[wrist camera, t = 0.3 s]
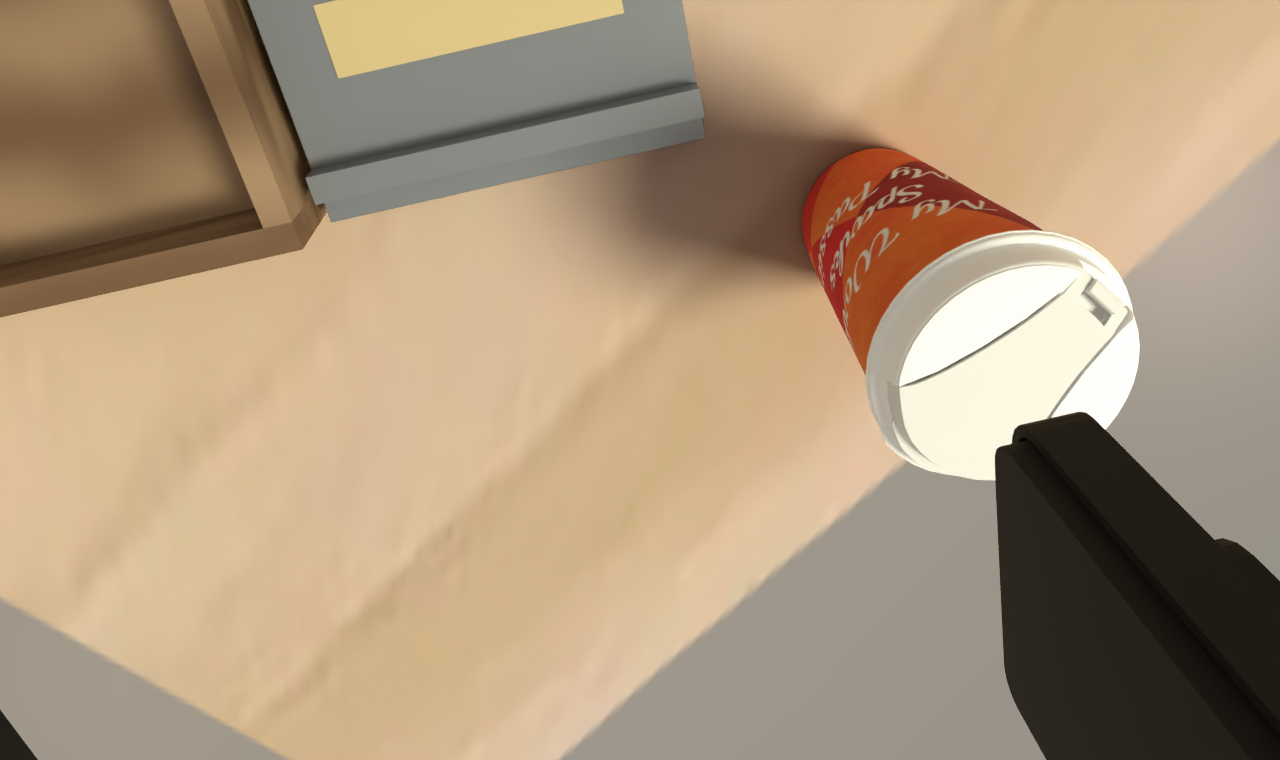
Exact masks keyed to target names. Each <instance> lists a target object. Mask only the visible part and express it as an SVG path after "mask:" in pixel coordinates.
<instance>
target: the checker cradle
mask: <svg viewBox="0 0 1280 760" xmlns="http://www.w3.org/2000/svg"><path fill="white" fill-rule="evenodd" d="M248 2H249V5H250V8H251V10H252V13H253V16H254V18H255V21H256V24H257V26H258V29H259V32H260V34H261V37H262V40H263V42H264V45H265V48H266V50H267V53H268V56H269V58H270V61H271V64H272V66H273V69H274V72H275V74H276V77H277V79H278V82H279V85H280V87H281V90H282V93H283V95H284V98H285V101H286V103H287V106H288V109H289V111H290V114H291V117H292V119H293V122H294V125H295V127H296V130H297V133H298V135H299V138H300V141H301V143H302V146H303V149H304V151H305V154H306V156H307V159H308V162H309V164H310V167H311V171H310V173H309V174H308V175H307V176H306V181H307V184H308V186H309V189H310V192H311V194H312V197H313V199H314V202H315V205H318V204H323V203H324V204H325V207H326V210H327V212H328V215H329V218H330V220H331V222H335V221H340V220H344V219H349V218H353V217H357V216H362V215H366V214H371V213H375V212H380V211H384V210H388V209H393V208H397V207H402V206H406V205H411V204H415V203H419V202H424V201H428V200H433V199H437V198H442V197H446V196H451V195H455V194H459V193H464V192H468V191H473V190H477V189H482V188H486V187H490V186H495V185H499V184H504V183H508V182H513V181H517V180H521V179H526V178H530V177H535V176H539V175H544V174H548V173H552V172H557V171H561V170H566V169H570V168H575V167H579V166H584V165H588V164H592V163H597V162H601V161H606V160H610V159H615V158H619V157H623V156H628V155H632V154H637V153H641V152H646V151H650V150H654V149H659V148H663V147H668V146H672V145H677V144H681V143H685V142H690V141H694V140H699V139H703V138H705V132H704V126H703V120H702V118H703V117H705V116H704V110H703V104H702V98H701V92H700V88H699V86H698V85H697V83H696V80H695V74H694V68H693V62H692V56H691V51H690V45H689V39H688V33H687V27H686V21H685V16H684V10H683V4H682V0H248Z"/></svg>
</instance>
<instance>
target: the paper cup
mask: <svg viewBox="0 0 1280 760" xmlns="http://www.w3.org/2000/svg"><path fill="white" fill-rule="evenodd" d="M802 234H803V239H804V243H805V246H806V249H807V252H808V254H809V257H810V259H811V261H812V264H813V266H814V268H815V271H816V273H817V275H818V277H819V279H820V281H821V284H822V286H823V288H824V290H825V292H826V294H827V296H828V298H829V300H830V303H831V305H832V307H833V309H834V311H835V313H836V315H837V317H838V319H839V321H840V323H841V326H842V328H843V330H844V332H845V334H846V336H847V338H848V340H849V342H850V344H851V346H852V348H853V350H854V352H855V354H856V356H857V358H858V361H859V363H860V365H861V367H862V369H863V371H864V373H865V377H866V390H867V397H868V400H869V404H870V408H871V411H872V413H873V415H874V418H875V420H876V422H877V424H878V426H879V428H880V430H881V433H882V435H883V438H884V440H885V443H886V444H887V445H888V446H889V447H890V448H891V449H892V450H893V451H894V452H895V453H897V454H898V455H899V456H900V457H902V458H904V459H905V460H907V461H909V462H910V463H912V464H913V465H916V466H918V467H921V468H923V469H926V470H929V471H935V472H937V473H942V474H947V475H955V476H960V477H965V478H969V479H974V480H995V453H996V450H997V448H999V447H1000V446H1005V445H1009V444H1012V436H1013V433H1014V429H1015V428H1016V427H1017V426H1019V425H1022V424H1027V423H1031V422H1035V421H1040V420H1044V419H1049V418H1053V417H1057V416H1062V415H1066V414H1071V413H1075V412H1086V413H1087V414H1089V415H1090V416H1091V417H1093V418H1094V419H1095V420H1096V421H1097V422H1098V423H1099V424H1100V425H1101V426H1102V427H1103V428H1104V429H1106V428H1107V427H1108V425H1109V424H1110V423H1111V422H1112V421H1113V419H1114V418H1115V417H1116V416H1117V414H1118V413H1119V411H1120V409H1121V407H1122V406H1123V404H1124V403H1125V401H1126V399H1127V397H1128V395H1129V392H1130V390H1131V388H1132V385H1133V383H1134V380H1135V376H1136V372H1137V367H1138V361H1139V347H1140V346H1139V335H1138V328H1137V325H1136V321H1135V318H1134V315H1133V312H1132V304H1131V301H1130V298H1129V295H1128V292H1127V288H1126V286H1125V285H1124V283H1123V281H1122V279H1121V277H1120V275H1119V274H1118V272H1117V271H1116V270H1115V268H1114V267H1113V266H1112V265H1111V264H1110V263H1109V261H1108V260H1107V259H1106V258H1105V257H1103V256H1102V255H1101V254H1100V253H1098V252H1097V251H1096V250H1094V249H1093V248H1092V247H1090V246H1089V245H1087V244H1085V243H1083V242H1081V241H1079V240H1077V239H1075V238H1073V237H1069V236H1066V235H1062V234H1059V233H1055V232H1050V231H1043V230H1042V229H1040V228H1038V227H1037V226H1035V225H1034V224H1032V223H1031V222H1029V221H1027V220H1025V219H1024V218H1022V217H1020V216H1018V215H1016V214H1014V213H1013V212H1011V211H1009V210H1007V209H1005V208H1003V207H1001V206H1000V205H998V204H996V203H994V202H992V201H990V200H988V199H987V198H985V197H983V196H981V195H980V194H978V193H976V192H974V191H973V190H971V189H969V188H968V187H966V186H964V185H963V184H961V183H959V182H957V181H956V180H954V179H952V178H951V177H949V176H947V175H945V174H944V173H942V172H940V171H938V170H937V169H935V168H933V167H931V166H930V165H928V164H926V163H924V162H922V161H920V160H918V159H916V158H915V157H912V156H910V155H908V154H905V153H903V152H900V151H897V150H892V149H885V148H872V149H865V150H861V151H857V152H854V153H852V154H849V155H847V156H845V157H843V158H841V159H840V160H838V161H836V162H835V163H834V164H832V165H831V166H830V167H829V168H827V169H826V170H825V171H824V172H823V173H822V174H821V176H820V177H819V178H818V179H817V180H816V182H815V183H814V185H813V186H812V188H811V190H810V192H809V194H808V196H807V198H806V201H805V204H804V208H803V213H802Z"/></svg>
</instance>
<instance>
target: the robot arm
mask: <svg viewBox="0 0 1280 760" xmlns="http://www.w3.org/2000/svg"><path fill="white" fill-rule="evenodd" d="M995 480H996V500H997V501H996V502H997V522H998V544H999V562H1000V563H999V565H1000V585H1001V606H1002V628H1003V648H1004V666H1005V673H1006V678H1007V682H1008V685H1009V688H1010V691H1011V694H1012V697H1013V699H1014V701H1015V703H1016V705H1017V708H1018V710H1019V711H1020V713H1021V715H1022V717H1023V718H1024V720H1025V722H1026V724H1027V726H1028V727H1029V729H1030V731H1031V733H1032V734H1033V736H1034V738H1035V740H1036V741H1037V743H1038V745H1039V747H1040V749H1041V751H1042V753H1043V754H1044V756H1045V758H1046V760H1280V581H1279V580H1278V579H1277V578H1276V577H1275V576H1274V575H1273V574H1272V573H1271V572H1270V571H1269V570H1268V569H1267V568H1266V567H1265V566H1264V565H1263V564H1262V563H1261V562H1260V561H1259V560H1257V559H1256V558H1255V557H1254V556H1253V555H1252V554H1250V552H1248V551H1247V550H1246V549H1244V548H1243V547H1242V546H1240V545H1239V544H1238V543H1236V542H1233V541H1230V540H1226V539H1223V538H1222V539H1217V540H1214V539H1213V538H1212V537H1211V536H1210V535H1209V534H1208V533H1207V532H1206V531H1205V530H1204V529H1203V528H1202V527H1201V526H1200V525H1199V524H1198V523H1197V522H1196V521H1195V520H1194V519H1193V518H1192V517H1191V516H1190V515H1189V514H1188V513H1187V512H1186V511H1185V510H1184V509H1183V508H1182V507H1181V506H1180V505H1179V504H1178V503H1177V502H1176V501H1175V500H1174V499H1173V498H1172V497H1171V496H1170V495H1169V494H1168V493H1167V492H1166V491H1165V490H1164V489H1163V488H1162V487H1161V486H1160V485H1159V484H1158V483H1157V482H1156V481H1155V480H1154V478H1153V477H1151V476H1150V474H1149V473H1148V472H1147V471H1145V469H1144V468H1143V467H1142V466H1141V465H1140V464H1139V463H1138V462H1136V460H1135V459H1133V458H1132V456H1130V454H1129V453H1128V452H1127V451H1126V450H1125V449H1124V448H1123V447H1122V446H1121V445H1120V444H1118V442H1117V441H1116V440H1115V439H1114V438H1113V437H1112V436H1111V435H1110V434H1109V433H1108V432H1107V431H1106V430H1105V429H1104V428H1103V427H1102V426H1101V425H1100V424H1099V423H1098V422H1097V421H1096V420H1095V419H1094V418H1093V417H1091V416H1090V415H1089V414H1087V413H1086V412H1075V413H1071V414H1066V415H1062V416H1057V417H1053V418H1049V419H1044V420H1040V421H1035V422H1031V423H1027V424H1022V425H1019V426H1017V427H1016V428H1015V429H1014V433H1013V436H1012V444H1009V445H1005V446H1000V447H999V448H997V450H996V453H995ZM0 760H37V758H36V757H35V756H34V754H33V753H32V752H31V750H30V749H29V748H28V746H27V745H26V744H25V742H24V741H23V740H22V738H21V737H20V736H19V734H18V733H17V732H16V730H15V729H14V728H13V726H12V725H11V724H10V722H9V721H8V720H7V718H6V717H5V716H4V714H3V713H2V712H1V710H0Z"/></svg>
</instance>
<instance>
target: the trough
mask: <svg viewBox="0 0 1280 760" xmlns="http://www.w3.org/2000/svg"><path fill="white" fill-rule="evenodd" d="M310 171H311V170H310V168H309V165H308V162H307V160H306V157H305V154H304V152H303V149H302V146H301V144H300V141H299V138H298V136H297V133H296V130H295V128H294V125H293V122H292V120H291V117H290V114H289V112H288V109H287V107H286V104H285V101H284V99H283V96H282V93H281V91H280V88H279V85H278V83H277V80H276V77H275V75H274V72H273V69H272V67H271V64H270V61H269V59H268V56H267V54H266V51H265V48H264V46H263V43H262V40H261V38H260V35H259V32H258V30H257V27H256V24H255V22H254V19H253V16H252V14H251V11H250V8H249V6H248V3H247V1H246V0H0V317H4V316H9V315H13V314H17V313H22V312H26V311H31V310H35V309H40V308H44V307H49V306H53V305H57V304H62V303H66V302H71V301H75V300H80V299H84V298H88V297H93V296H97V295H102V294H106V293H111V292H115V291H120V290H124V289H128V288H133V287H137V286H142V285H146V284H151V283H155V282H160V281H164V280H168V279H173V278H177V277H182V276H186V275H191V274H195V273H200V272H204V271H208V270H213V269H217V268H222V267H226V266H231V265H235V264H240V263H244V262H248V261H253V260H257V259H262V258H266V257H271V256H275V255H280V254H284V253H288V252H293V251H297V250H302V249H303V248H304V247H305V245H306V243H307V242H308V240H309V239H310V237H311V236H312V234H313V233H314V231H315V229H316V228H317V226H318V225H319V223H320V222H321V220H322V219H323V217H324V215H325V214H326V210H325V207H324V205H323V204H318V205H315V202H314V199H313V197H312V194H311V192H310V189H309V186H308V184H307V181H306V176H307V175H308V174H309V173H310Z"/></svg>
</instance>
